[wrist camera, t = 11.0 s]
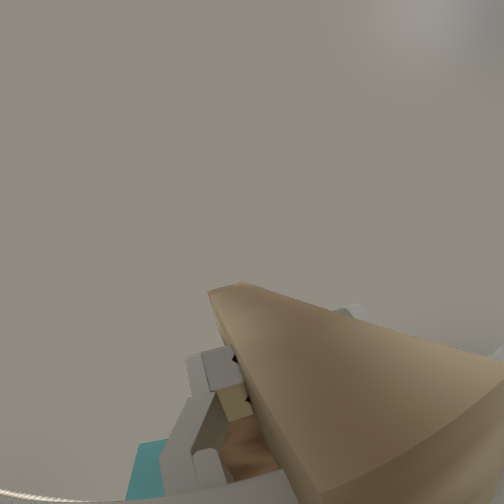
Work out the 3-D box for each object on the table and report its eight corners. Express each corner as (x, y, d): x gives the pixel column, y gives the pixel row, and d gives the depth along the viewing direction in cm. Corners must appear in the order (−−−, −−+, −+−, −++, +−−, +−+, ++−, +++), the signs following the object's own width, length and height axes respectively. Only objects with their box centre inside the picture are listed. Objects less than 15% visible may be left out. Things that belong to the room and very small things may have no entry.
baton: (344, 593, 2) (319, 493, 2) (217, 326, 24) (207, 291, 24) (492, 499, 3) (517, 365, 3) (252, 316, 24) (242, 281, 24)
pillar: (268, 556, 26) (201, 415, 26) (251, 502, 39) (198, 371, 39) (352, 525, 28) (323, 375, 28) (320, 479, 41) (285, 344, 41)
